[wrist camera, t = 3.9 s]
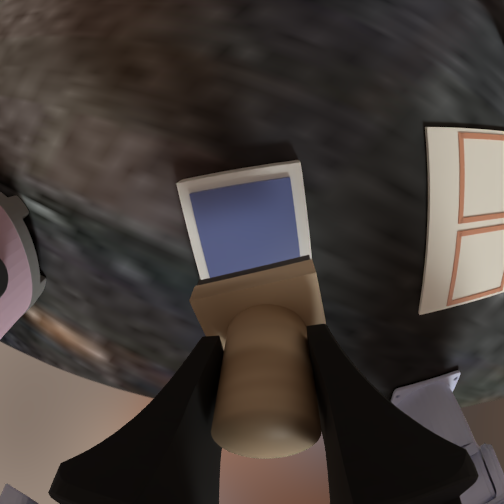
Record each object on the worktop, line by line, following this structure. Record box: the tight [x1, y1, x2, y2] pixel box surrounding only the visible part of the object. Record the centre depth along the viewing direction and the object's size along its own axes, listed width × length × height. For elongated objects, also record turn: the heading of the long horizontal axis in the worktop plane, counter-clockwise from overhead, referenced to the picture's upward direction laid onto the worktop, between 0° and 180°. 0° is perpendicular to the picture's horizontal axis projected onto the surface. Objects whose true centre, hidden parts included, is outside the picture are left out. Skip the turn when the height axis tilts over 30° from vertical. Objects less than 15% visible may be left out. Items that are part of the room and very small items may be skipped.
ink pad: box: [176, 160, 312, 280], centre depth 18 cm, size 9×7×2 cm
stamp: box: [189, 255, 326, 458], centre depth 10 cm, size 4×4×6 cm
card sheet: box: [418, 127, 504, 315], centre depth 17 cm, size 14×12×1 cm
